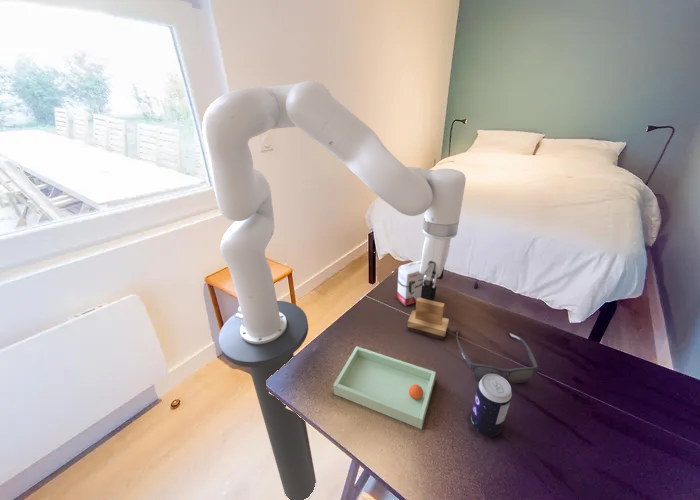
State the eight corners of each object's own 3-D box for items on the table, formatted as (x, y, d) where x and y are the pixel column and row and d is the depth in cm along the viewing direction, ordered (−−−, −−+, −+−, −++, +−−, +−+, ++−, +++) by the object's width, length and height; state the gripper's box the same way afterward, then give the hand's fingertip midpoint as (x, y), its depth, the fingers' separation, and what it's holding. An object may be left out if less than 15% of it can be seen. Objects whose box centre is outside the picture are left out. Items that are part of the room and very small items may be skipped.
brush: (407, 330, 86) (408, 303, 81) (411, 319, 90) (413, 292, 85) (444, 341, 82) (448, 312, 77) (447, 328, 86) (451, 301, 81)
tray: (334, 394, 69) (333, 384, 68) (356, 354, 79) (356, 346, 78) (421, 429, 62) (422, 419, 60) (434, 381, 71) (436, 371, 70)
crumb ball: (407, 390, 65) (422, 395, 64) (411, 379, 68) (425, 384, 67) (406, 400, 67) (420, 404, 66) (410, 388, 69) (423, 393, 68)
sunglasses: (464, 384, 70) (467, 366, 68) (450, 336, 86) (452, 321, 84) (542, 388, 68) (547, 371, 66) (514, 339, 84) (517, 323, 82)
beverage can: (490, 409, 65) (501, 369, 59) (506, 436, 60) (520, 395, 54) (464, 414, 64) (473, 374, 58) (479, 442, 59) (490, 401, 53)
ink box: (405, 306, 95) (406, 274, 89) (396, 298, 99) (397, 266, 93) (428, 298, 98) (431, 266, 92) (419, 290, 101) (422, 259, 96)
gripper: (432, 210, 79) (425, 267, 87) (413, 238, 65) (407, 303, 73) (463, 214, 76) (453, 273, 84) (451, 245, 62) (440, 312, 70)
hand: (432, 287), depth 79 cm, fingers open, 9 cm apart
